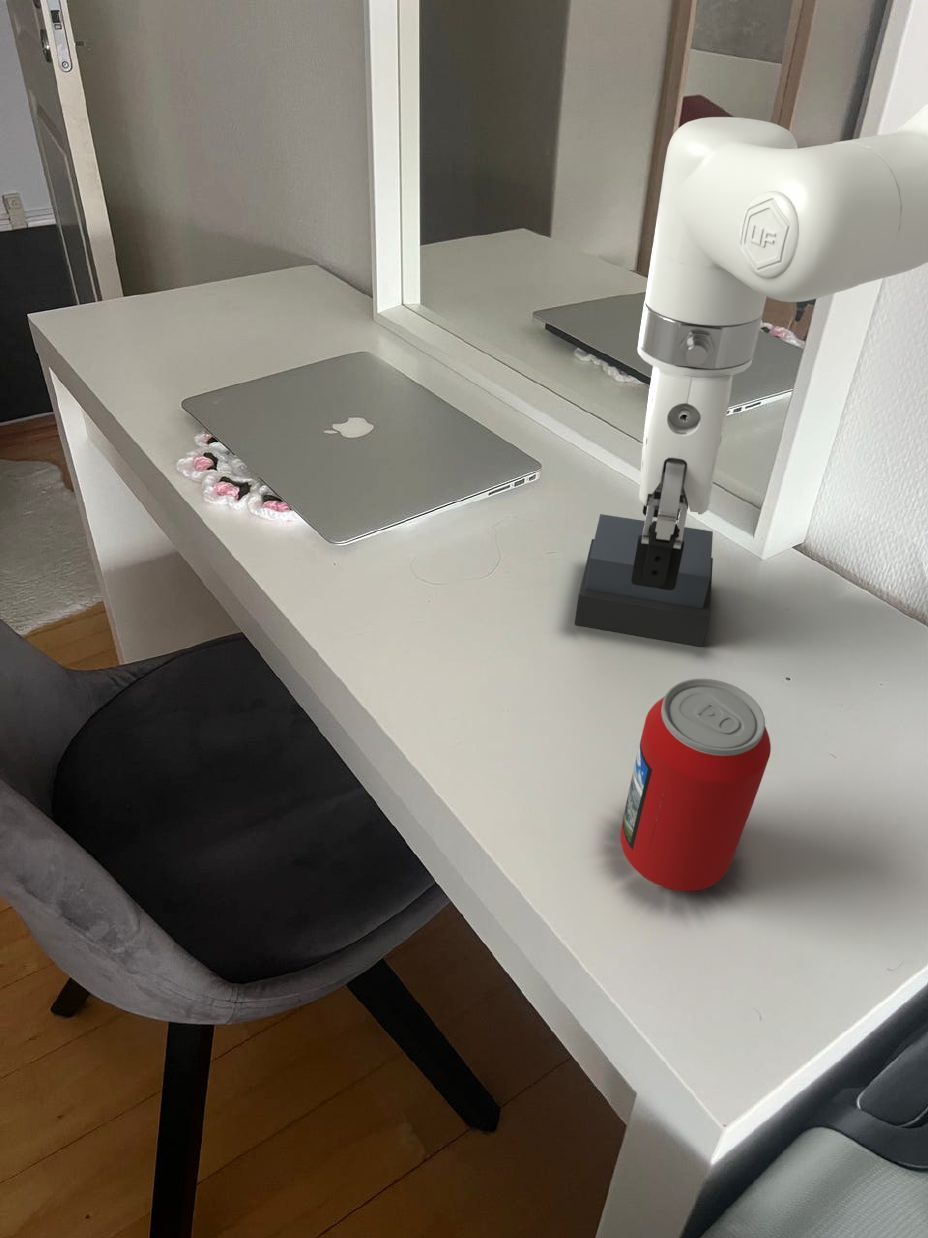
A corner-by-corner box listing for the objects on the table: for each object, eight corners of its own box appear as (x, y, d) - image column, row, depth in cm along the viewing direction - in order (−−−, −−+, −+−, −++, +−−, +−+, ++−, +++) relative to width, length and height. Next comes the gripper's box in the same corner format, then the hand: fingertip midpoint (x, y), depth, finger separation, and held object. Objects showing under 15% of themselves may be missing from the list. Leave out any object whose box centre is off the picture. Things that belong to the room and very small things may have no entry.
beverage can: (660, 790, 59) (696, 652, 52) (750, 853, 56) (803, 715, 48) (595, 849, 56) (623, 710, 48) (687, 921, 52) (733, 782, 44)
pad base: (705, 586, 77) (712, 557, 75) (702, 647, 71) (709, 617, 69) (587, 567, 78) (591, 538, 76) (574, 624, 72) (578, 594, 70)
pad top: (705, 561, 74) (712, 531, 72) (702, 609, 70) (710, 577, 68) (595, 544, 76) (600, 513, 74) (585, 589, 71) (589, 557, 69)
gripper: (758, 395, 53) (702, 625, 63) (755, 295, 66) (710, 500, 77) (627, 379, 54) (595, 607, 65) (650, 284, 67) (620, 487, 78)
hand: (657, 549), depth 71 cm, fingers open, 9 cm apart
